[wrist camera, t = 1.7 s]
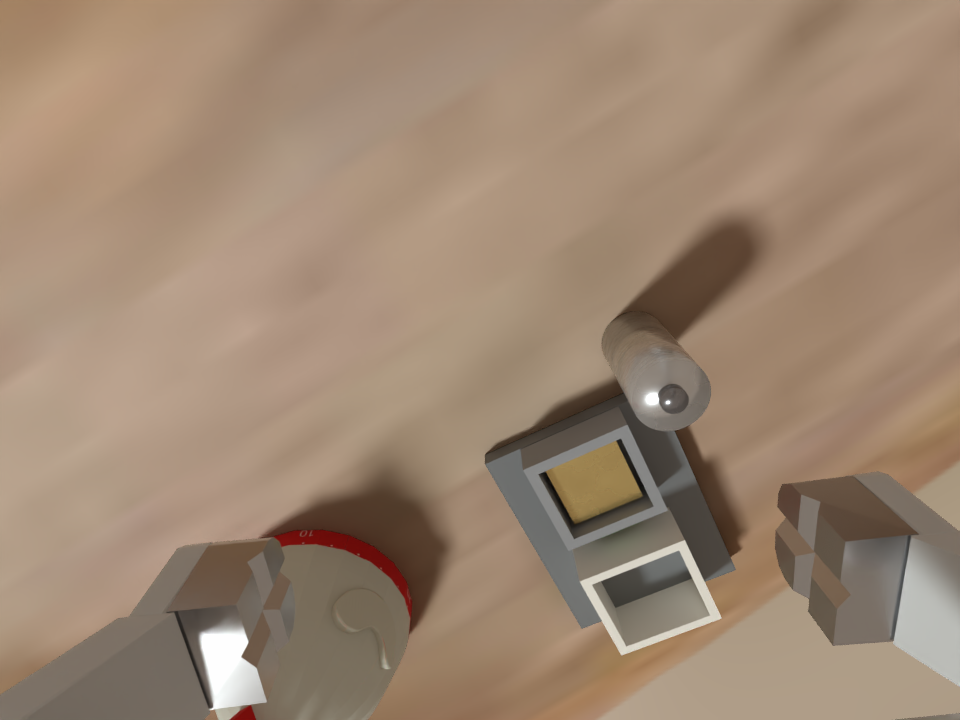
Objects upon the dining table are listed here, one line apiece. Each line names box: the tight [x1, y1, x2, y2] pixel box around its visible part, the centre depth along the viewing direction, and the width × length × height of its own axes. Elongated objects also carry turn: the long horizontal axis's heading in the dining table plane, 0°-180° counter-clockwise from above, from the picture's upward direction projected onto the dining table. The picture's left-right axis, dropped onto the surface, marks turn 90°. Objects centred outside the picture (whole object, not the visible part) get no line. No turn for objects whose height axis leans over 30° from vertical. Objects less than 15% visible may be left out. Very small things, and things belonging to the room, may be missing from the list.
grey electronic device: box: [485, 393, 736, 655], centre depth 41 cm, size 12×16×5 cm
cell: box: [602, 312, 711, 431], centre depth 34 cm, size 4×4×9 cm
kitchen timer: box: [214, 530, 412, 720], centre depth 39 cm, size 14×14×15 cm
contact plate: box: [546, 441, 643, 524], centre depth 39 cm, size 5×5×1 cm
